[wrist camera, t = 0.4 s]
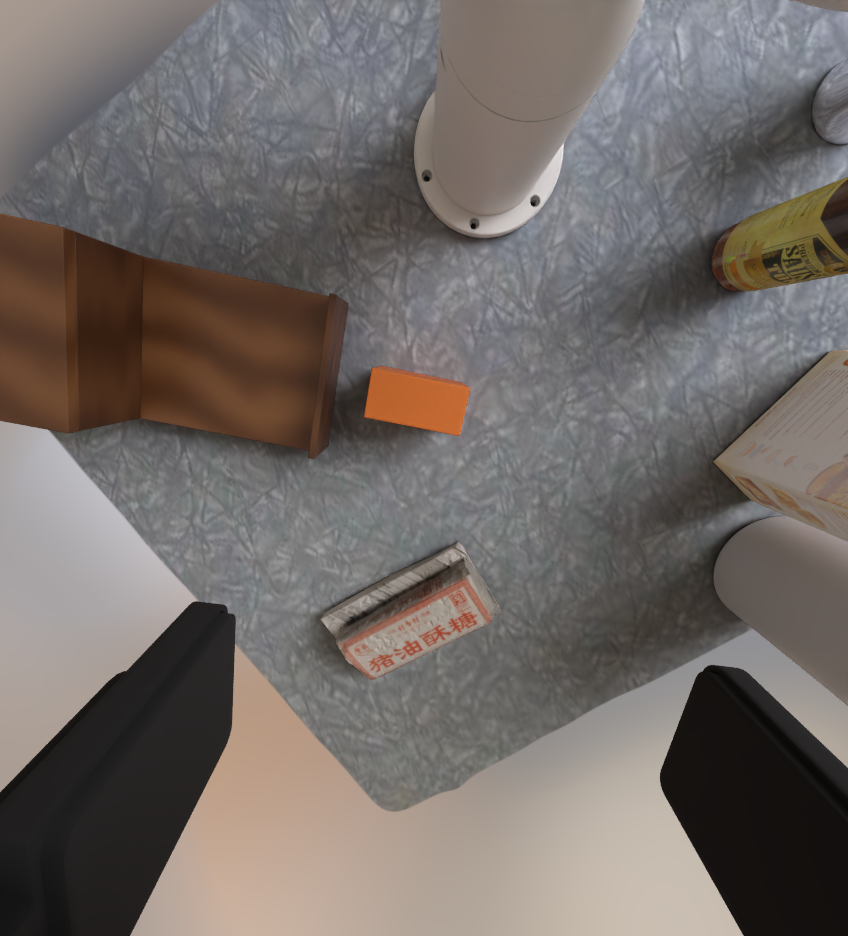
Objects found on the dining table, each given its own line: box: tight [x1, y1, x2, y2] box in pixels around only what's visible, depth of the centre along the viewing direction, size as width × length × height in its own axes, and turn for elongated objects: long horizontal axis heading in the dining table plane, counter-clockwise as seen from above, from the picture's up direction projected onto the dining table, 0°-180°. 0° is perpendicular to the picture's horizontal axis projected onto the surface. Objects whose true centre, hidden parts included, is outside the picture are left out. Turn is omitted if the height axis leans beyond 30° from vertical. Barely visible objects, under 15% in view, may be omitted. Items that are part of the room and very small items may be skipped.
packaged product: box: [321, 542, 502, 680], centre depth 45 cm, size 18×5×10 cm
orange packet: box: [364, 366, 470, 436], centre depth 37 cm, size 4×8×8 cm, turn 78°
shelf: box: [0, 214, 348, 459], centre depth 34 cm, size 14×22×11 cm, turn 78°
